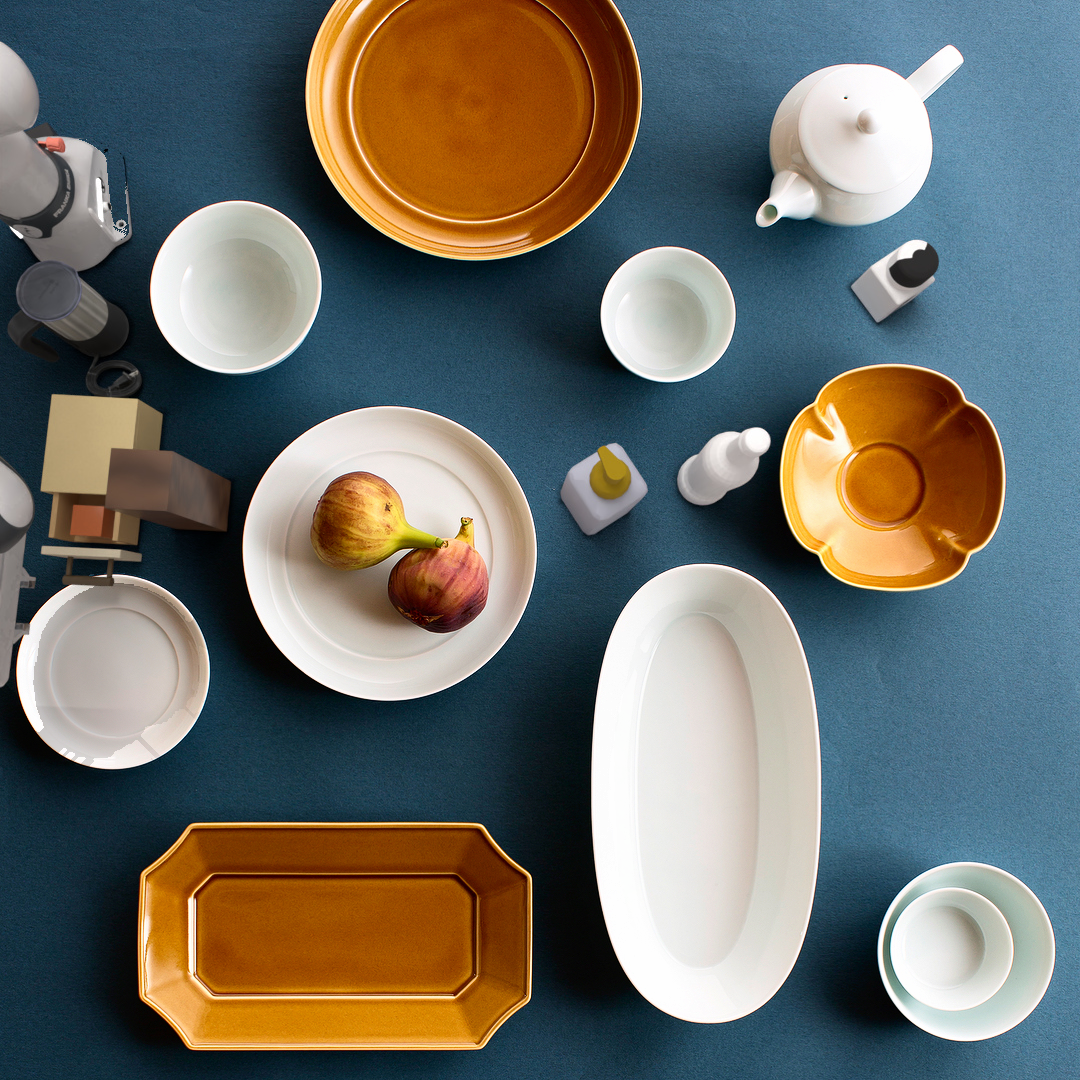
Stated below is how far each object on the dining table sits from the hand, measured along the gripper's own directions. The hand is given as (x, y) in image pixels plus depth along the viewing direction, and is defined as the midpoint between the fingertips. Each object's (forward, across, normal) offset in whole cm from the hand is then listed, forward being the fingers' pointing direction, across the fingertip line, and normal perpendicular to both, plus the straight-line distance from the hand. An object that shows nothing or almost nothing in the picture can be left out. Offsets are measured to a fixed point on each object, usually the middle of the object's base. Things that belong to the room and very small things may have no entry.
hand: (27, 605), depth 103 cm
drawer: (+18, -12, 0) cm, 22 cm away
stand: (+19, -17, +14) cm, 29 cm away
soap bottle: (+19, -21, +76) cm, 81 cm away
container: (+19, -59, +123) cm, 138 cm away
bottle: (+19, -25, +93) cm, 98 cm away
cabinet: (+19, -24, 0) cm, 31 cm away
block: (+17, -13, 0) cm, 21 cm away
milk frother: (+19, -41, -3) cm, 45 cm away
